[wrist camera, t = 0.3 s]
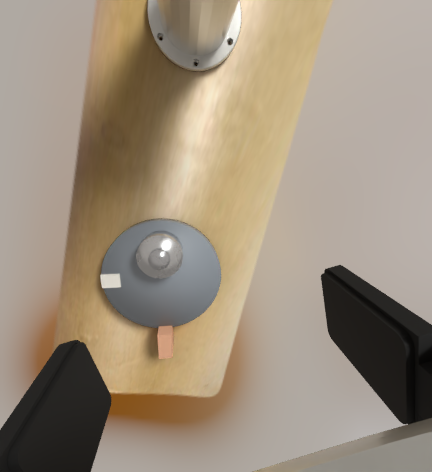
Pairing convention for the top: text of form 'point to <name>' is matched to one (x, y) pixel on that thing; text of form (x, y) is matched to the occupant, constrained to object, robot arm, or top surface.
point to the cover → (160, 254)
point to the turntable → (161, 280)
